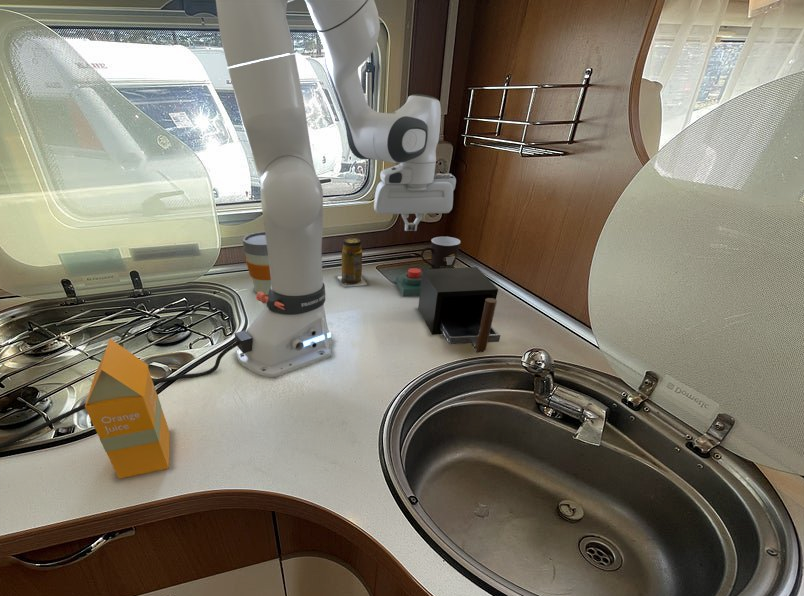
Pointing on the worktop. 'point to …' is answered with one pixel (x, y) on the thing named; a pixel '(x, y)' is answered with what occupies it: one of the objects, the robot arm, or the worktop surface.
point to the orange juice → (128, 414)
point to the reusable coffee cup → (258, 261)
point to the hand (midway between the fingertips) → (410, 230)
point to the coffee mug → (443, 252)
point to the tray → (472, 328)
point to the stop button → (414, 273)
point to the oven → (453, 294)
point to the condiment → (351, 263)
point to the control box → (408, 285)
